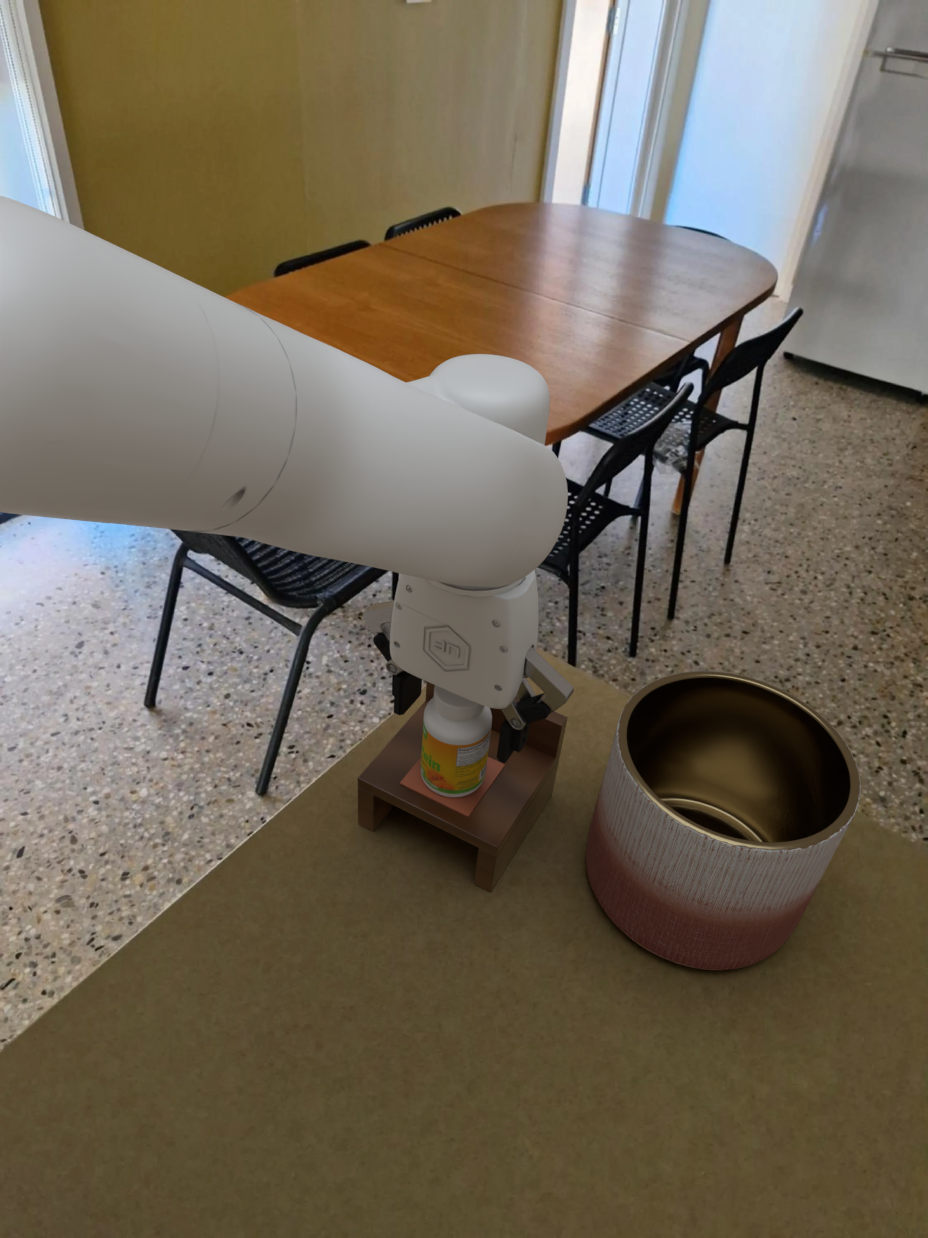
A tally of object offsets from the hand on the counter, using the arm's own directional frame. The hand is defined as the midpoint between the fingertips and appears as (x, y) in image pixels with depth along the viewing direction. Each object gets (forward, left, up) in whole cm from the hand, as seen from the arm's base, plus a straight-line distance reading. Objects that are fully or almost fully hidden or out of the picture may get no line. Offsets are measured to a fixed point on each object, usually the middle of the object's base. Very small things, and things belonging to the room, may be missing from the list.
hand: (457, 726), depth 70 cm
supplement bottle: (0, 0, -6) cm, 6 cm away
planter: (+6, -20, -12) cm, 24 cm away
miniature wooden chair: (+2, 0, -12) cm, 12 cm away
